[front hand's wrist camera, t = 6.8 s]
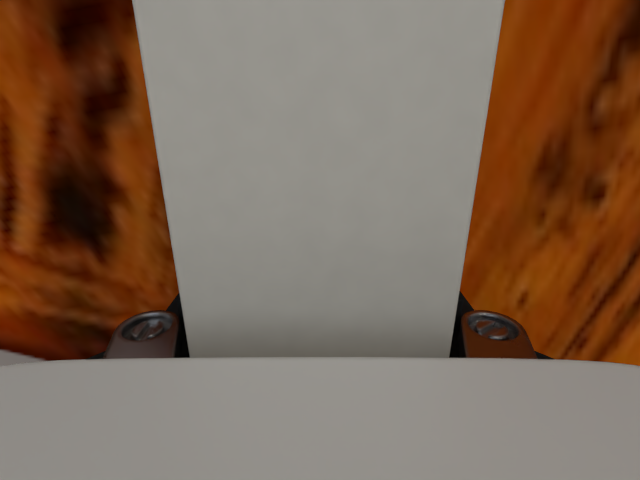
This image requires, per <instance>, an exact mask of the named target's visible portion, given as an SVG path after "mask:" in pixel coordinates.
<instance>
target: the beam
mask: <svg viewBox="0 0 640 480" xmlns="http://www.w3.org/2000/svg"><path fill="white" fill-rule="evenodd" d="M132 2H133V8H134V14H135V21H136V27H137V33H138V39H139V45H140V51H141V58H142V64H143V70H144V76H145V82H146V89H147V95H148V101H149V107H150V113H151V120H152V126H153V132H154V138H155V144H156V151H157V157H158V163H159V169H160V175H161V182H162V188H163V194H164V200H165V206H166V213H167V219H168V225H169V231H170V237H171V244H172V250H173V256H174V262H175V268H176V275H177V281H178V287H179V293H180V299H181V305H182V312H183V318H184V324H185V330H186V336H187V343H188V349H189V355H190V358H217V357H414V358H449V355H450V348H451V342H452V336H453V329H454V323H455V316H456V310H457V304H458V297H459V291H460V284H461V278H462V271H463V265H464V259H465V252H466V246H467V239H468V233H469V227H470V220H471V214H472V207H473V201H474V194H475V188H476V182H477V175H478V169H479V162H480V156H481V150H482V143H483V137H484V130H485V124H486V118H487V111H488V105H489V98H490V92H491V85H492V79H493V73H494V66H495V60H496V53H497V47H498V41H499V34H500V28H501V21H502V15H503V8H504V2H505V0H132Z"/></svg>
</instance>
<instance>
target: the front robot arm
mask: <svg viewBox="0 0 640 480" xmlns="http://www.w3.org/2000/svg"><path fill="white" fill-rule="evenodd" d="M0 480H640V366H636V365H628V364H620V363H611V362H597V361H580V360H555V359H553V358H550V357H548V356H546V355H543V354H541V353H538V352H536V351H534V349H533V347H532V345H531V342H530V340H529V338H528V335H527V333H526V331H525V329H524V328H523V327H522V325H520V324H519V323H518V322H517V321H515V320H514V319H512V318H510V317H508V316H506V315H503V314H500V313H497V312H492V311H485V310H476V311H474V309H473V308H472V307H471V305H470V304H469V303H468V301H467V300H466V299H465V297H464V296H463V295H462V293H461V292H460V291H459V297H458V304H457V310H456V316H455V323H454V329H453V336H452V342H451V348H450V355H449V358H414V357H217V358H190V355H189V349H188V343H187V336H186V330H185V324H184V318H183V312H182V305H181V299H180V293H179V294H178V295H177V296H176V298H175V299H174V300H173V302H172V303H171V304H170V306H169V307H168V308H167V310H166V311H164V310H155V311H148V312H143V313H140V314H137V315H134V316H132V317H130V318H128V319H126V320H125V321H123V322H122V323H121V324H120V325H118V327H117V328H116V329H115V331H114V333H113V335H112V338H111V340H110V342H109V345H108V347H107V349H106V351H104V352H102V353H100V354H97V355H95V356H92V357H90V358H87V359H85V360H58V361H44V362H29V363H20V364H12V365H4V366H0Z"/></svg>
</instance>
